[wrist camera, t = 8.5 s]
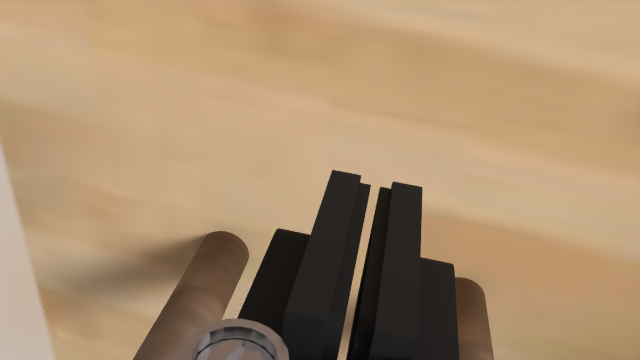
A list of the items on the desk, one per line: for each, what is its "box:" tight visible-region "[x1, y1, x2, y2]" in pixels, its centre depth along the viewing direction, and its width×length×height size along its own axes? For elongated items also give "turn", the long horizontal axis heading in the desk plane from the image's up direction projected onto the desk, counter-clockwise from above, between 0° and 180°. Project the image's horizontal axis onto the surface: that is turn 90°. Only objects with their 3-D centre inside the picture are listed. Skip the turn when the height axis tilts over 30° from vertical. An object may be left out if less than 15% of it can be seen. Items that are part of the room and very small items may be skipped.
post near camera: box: [133, 232, 249, 360], centre depth 27 cm, size 3×3×9 cm
